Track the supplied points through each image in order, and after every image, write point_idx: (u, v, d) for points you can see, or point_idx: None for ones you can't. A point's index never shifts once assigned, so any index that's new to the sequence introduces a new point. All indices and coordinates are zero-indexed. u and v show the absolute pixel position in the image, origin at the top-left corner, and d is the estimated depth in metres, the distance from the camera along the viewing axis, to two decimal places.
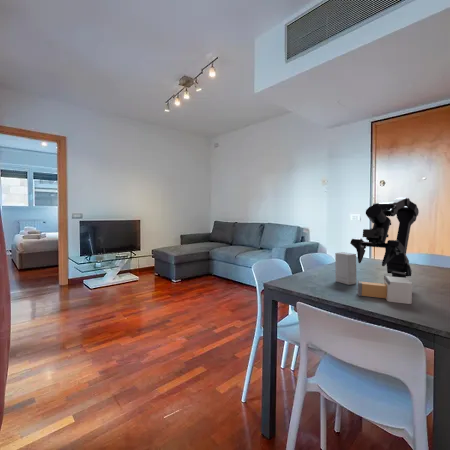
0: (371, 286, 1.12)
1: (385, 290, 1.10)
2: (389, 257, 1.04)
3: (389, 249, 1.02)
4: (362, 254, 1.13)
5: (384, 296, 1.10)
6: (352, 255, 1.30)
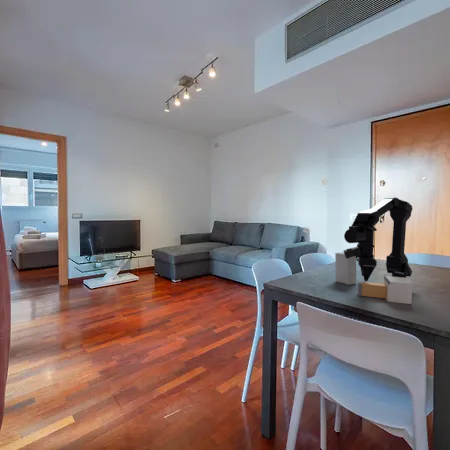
0: (371, 286, 1.12)
1: (385, 290, 1.10)
2: (368, 272, 1.09)
3: (360, 266, 1.09)
4: None
5: (384, 296, 1.10)
6: None
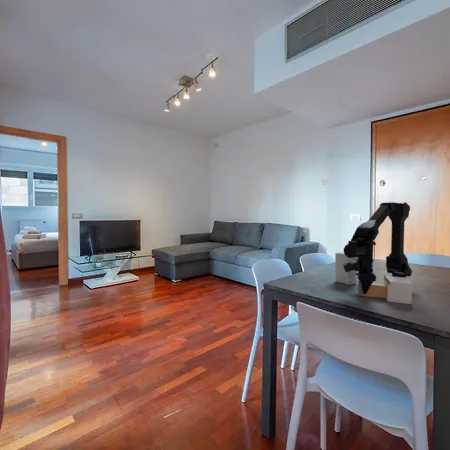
0: (371, 286, 1.12)
1: (385, 290, 1.10)
2: (367, 285, 1.11)
3: None
4: None
5: (384, 296, 1.10)
6: None
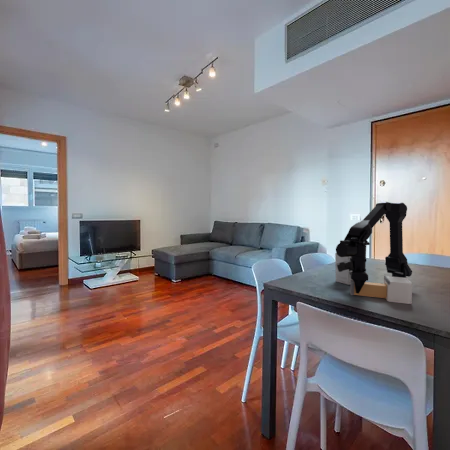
0: (363, 285, 1.13)
1: (377, 289, 1.11)
2: (359, 284, 1.12)
3: (352, 279, 1.13)
4: None
5: (376, 295, 1.11)
6: None
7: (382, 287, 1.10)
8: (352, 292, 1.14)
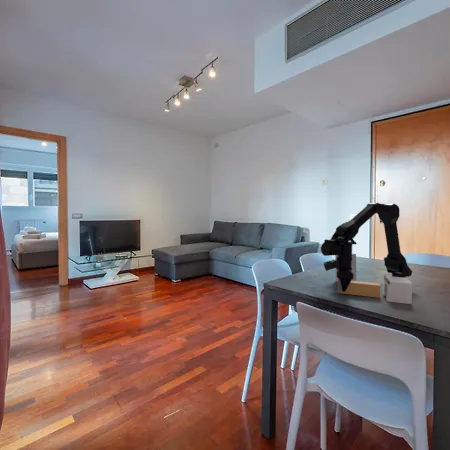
0: (349, 284, 1.15)
1: (363, 288, 1.13)
2: (346, 283, 1.14)
3: None
4: None
5: (362, 294, 1.13)
6: (352, 255, 1.30)
7: (368, 286, 1.12)
8: (339, 291, 1.16)
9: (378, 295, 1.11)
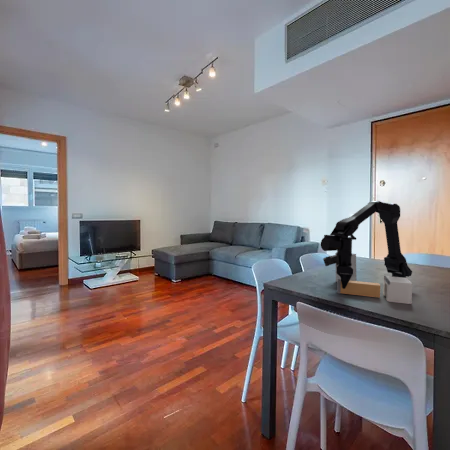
0: (349, 284, 1.15)
1: (362, 288, 1.13)
2: (345, 279, 1.12)
3: (338, 274, 1.12)
4: None
5: (361, 294, 1.13)
6: (352, 255, 1.30)
7: (367, 286, 1.12)
8: (338, 291, 1.16)
9: (378, 295, 1.11)
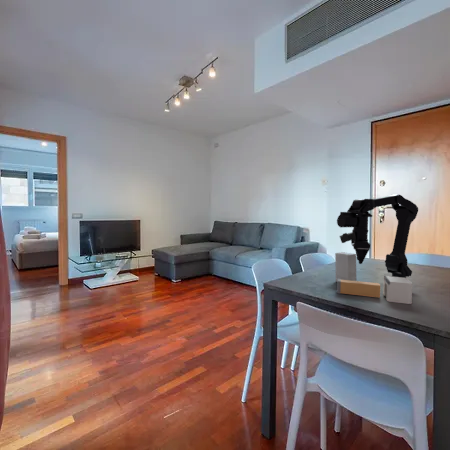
0: (349, 284, 1.15)
1: (362, 288, 1.13)
2: (362, 255, 1.15)
3: (355, 250, 1.16)
4: None
5: (361, 294, 1.13)
6: (352, 255, 1.30)
7: (367, 286, 1.12)
8: (338, 291, 1.16)
9: (378, 295, 1.11)
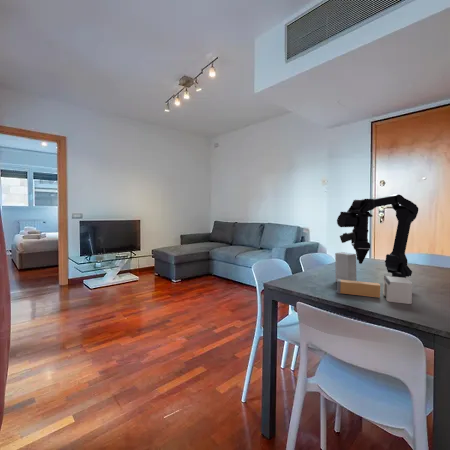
0: (349, 284, 1.15)
1: (362, 288, 1.13)
2: (362, 254, 1.15)
3: (355, 249, 1.16)
4: None
5: (361, 294, 1.13)
6: (352, 255, 1.30)
7: (367, 286, 1.12)
8: (338, 291, 1.16)
9: (378, 295, 1.11)
